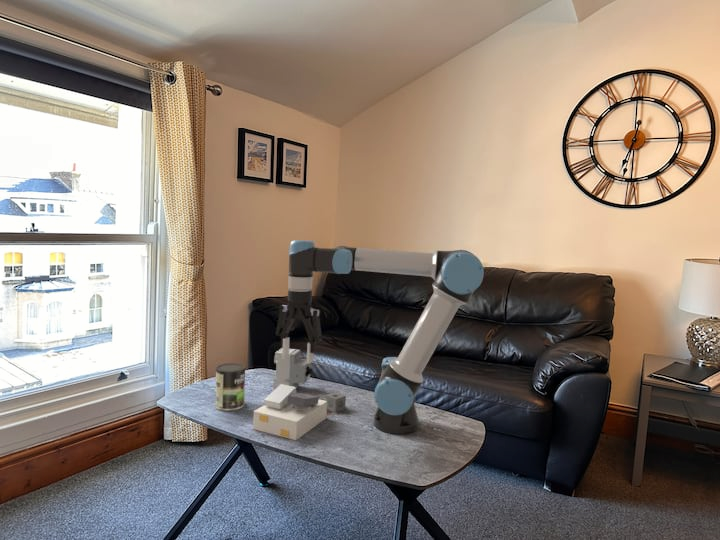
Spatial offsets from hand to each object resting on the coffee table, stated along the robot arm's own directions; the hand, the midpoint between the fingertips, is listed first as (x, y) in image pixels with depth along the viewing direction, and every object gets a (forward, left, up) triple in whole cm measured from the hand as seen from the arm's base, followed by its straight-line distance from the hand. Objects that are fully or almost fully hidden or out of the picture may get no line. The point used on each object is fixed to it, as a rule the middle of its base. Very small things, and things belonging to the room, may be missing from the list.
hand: (297, 360), depth 157 cm
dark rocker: (0, -4, -16) cm, 16 cm away
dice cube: (-3, -23, -24) cm, 33 cm away
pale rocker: (+8, -4, -16) cm, 18 cm away
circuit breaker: (+21, -33, -24) cm, 46 cm away
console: (+4, -4, -23) cm, 24 cm away
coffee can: (+31, -6, -24) cm, 39 cm away
